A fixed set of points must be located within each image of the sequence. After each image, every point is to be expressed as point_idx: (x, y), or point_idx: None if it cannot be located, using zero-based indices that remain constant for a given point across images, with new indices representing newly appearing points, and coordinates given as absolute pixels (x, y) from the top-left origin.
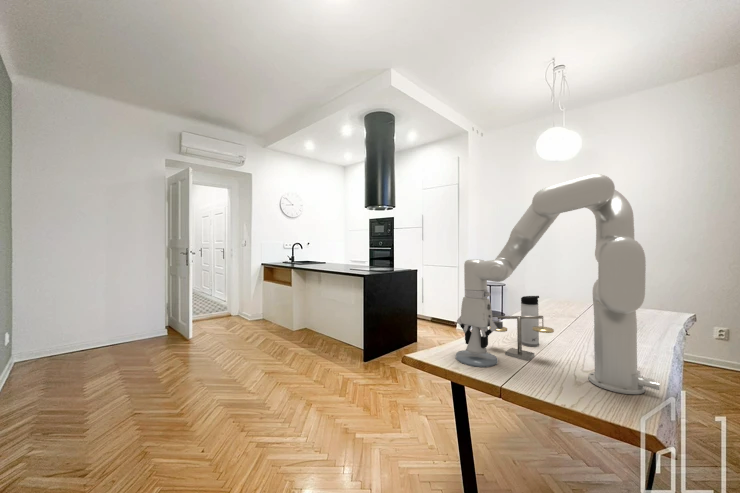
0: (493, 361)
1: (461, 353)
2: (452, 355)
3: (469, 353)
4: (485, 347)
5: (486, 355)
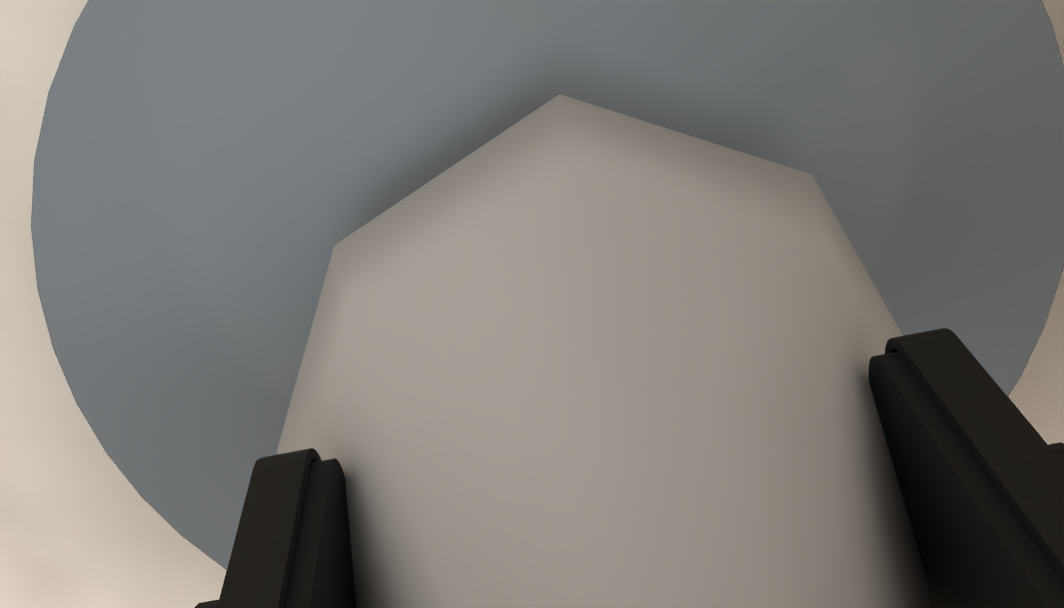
0: (1022, 222)
1: (224, 436)
2: (103, 504)
3: (319, 287)
4: (835, 281)
5: (682, 15)
